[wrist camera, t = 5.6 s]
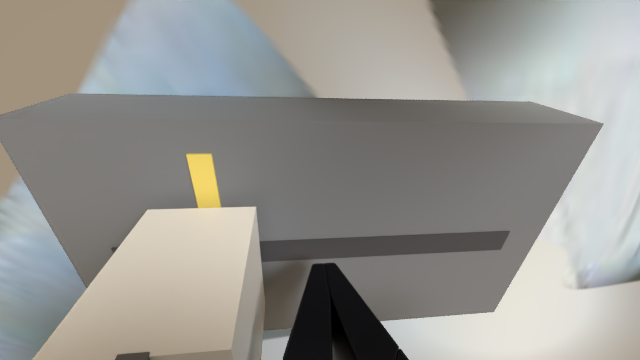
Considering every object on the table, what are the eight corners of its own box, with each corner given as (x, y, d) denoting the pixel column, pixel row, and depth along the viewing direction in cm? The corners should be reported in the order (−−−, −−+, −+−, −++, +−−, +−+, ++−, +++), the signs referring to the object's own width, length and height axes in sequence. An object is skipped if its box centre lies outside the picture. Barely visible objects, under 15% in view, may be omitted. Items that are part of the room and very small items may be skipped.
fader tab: (255, 205, 8) (228, 356, 4) (265, 304, 11) (253, 458, 7) (147, 207, 8) (16, 375, 4) (182, 310, 10) (120, 476, 7)
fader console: (531, 101, 11) (606, 124, 9) (460, 266, 16) (494, 313, 14) (70, 93, 9) (-17, 119, 7) (148, 284, 14) (117, 343, 12)
